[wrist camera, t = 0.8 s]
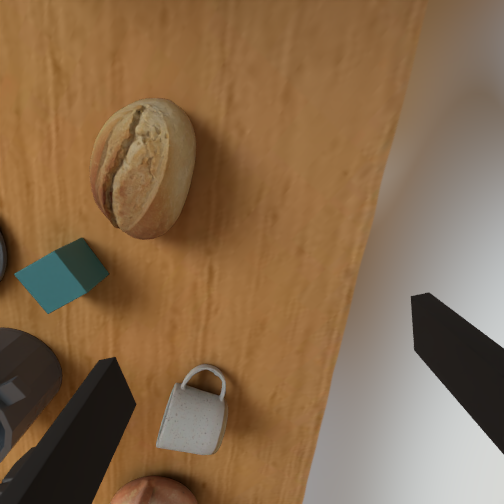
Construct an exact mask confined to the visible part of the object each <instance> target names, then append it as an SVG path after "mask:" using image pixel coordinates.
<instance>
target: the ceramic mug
mask: <svg viewBox="0 0 504 504" xmlns="http://www.w3.org/2000/svg"><path fill="white" fill-rule="evenodd" d="M205 369H206V370H209V371H212V372H213V373H214V374H215V376H218V377H219V378H220V379H221V380H222V391H221V394H220V395H219V396H218V395H216V394H213V393H209V392H206V391H202V390H199V389H196V388H194V387H190V386H187V385H186V383H187V382H188V381H189V379H190V378H191V377H192V376H193V375H194V374H196V373H198V372H200V371H202V370H205ZM225 390H226V382H225V378H224V375H223V374H222V372H221V371H220V370H219V369H218V368H217V367H215V366H212V365H208V364H202V365H199V366H197V367H195V368H193V369H192V370H191V371H190V372H189V373H188V375H187V376H186V377H185V379H184V381H183V383H182V384H181V383H175V385H174V387H173V390H172V392H171V395H170V397H169V401H168V404H167V407H166V410H165V413H164V416H163V420H162V423H161V427H160V430H159V434H158V438H157V442H156V447H157V448H163V449H170V450H175V451H182V452H188V453H194V454H200V455H211V454H214V453H216V452H217V451H218V449H219V448H220V446H221V443H222V440H223V437H224V434H225V429H226V425H227V419H228V404H227V402H226V400H225V399H224V395H225Z"/></svg>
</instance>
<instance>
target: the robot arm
mask: <svg viewBox="0 0 504 504" xmlns="http://www.w3.org/2000/svg"><path fill="white" fill-rule="evenodd" d="M411 306H412V322H413V337H414V350H415V351H416V353H417V354H418V355H419V356H420V358H421V359H422V360H423V361H424V362H425V363H426V364H427V366H428V367H429V368H430V369H431V370H432V371H433V373H434V374H435V375H436V376H437V377H438V378H439V380H440V381H441V382H442V383H443V384H444V385H445V386H446V388H447V389H448V390H449V391H450V392H451V394H452V395H453V396H454V397H455V398H456V399H457V401H458V402H459V403H460V404H461V405H462V406H463V407H464V409H465V410H466V411H467V412H468V413H469V414H470V416H471V417H472V418H473V419H474V420H475V422H476V423H477V424H478V425H479V426H480V427H481V428H482V430H483V431H484V432H485V433H486V434H487V436H488V437H489V438H490V439H491V440H492V441H493V443H494V444H495V445H496V446H497V447H498V448H499V450H500V451H501V452H502V453H503V454H504V348H502V347H501V346H500V345H498V344H497V343H496V342H494V341H493V340H492V339H490V338H489V337H488V336H486V335H485V334H484V333H482V332H481V331H480V330H478V329H477V328H476V327H474V326H473V325H472V324H470V323H469V322H468V321H466V320H465V319H464V318H462V317H461V316H459V315H458V314H457V313H456V312H454V311H453V310H452V309H450V308H449V307H448V306H446V305H445V304H444V303H442V302H441V301H440V300H438V299H437V298H436V297H434V296H433V295H432V294H430V293H425V294H420V295H415V296H411ZM135 406H136V402H135V400H134V398H133V396H132V393H131V391H130V389H129V387H128V384H127V382H126V380H125V378H124V375H123V373H122V371H121V369H120V366H119V364H118V362H117V360H116V357H113V358H108V359H103V360H99V361H98V362H97V364H96V365H95V367H94V368H93V369H92V371H91V372H90V373H89V375H88V376H87V378H86V379H85V380H84V382H83V383H82V384H81V386H80V387H79V388H78V390H77V391H76V393H75V394H74V395H73V397H72V398H71V399H70V401H69V402H68V403H67V405H66V406H65V408H64V409H63V410H62V412H61V413H60V414H59V416H58V417H57V419H56V420H55V421H54V423H53V424H52V425H51V427H50V428H49V429H48V431H47V432H46V434H45V435H44V436H43V438H42V439H41V440H40V442H39V443H38V444H37V446H36V447H32V448H31V449H30V450H29V451H28V452H27V453H26V454H25V455H23V456H22V457H21V458H20V459H19V460H18V461H17V462H16V463H15V464H14V466H13V467H12V468H11V469H10V471H9V472H8V473H7V475H6V476H5V477H4V479H3V480H2V484H0V504H92V502H93V500H94V497H95V495H96V493H97V491H98V488H99V486H100V484H101V482H102V480H103V477H104V475H105V473H106V471H107V469H108V466H109V464H110V462H111V460H112V457H113V455H114V453H115V451H116V449H117V446H118V444H119V442H120V440H121V437H122V435H123V433H124V431H125V429H126V426H127V424H128V422H129V420H130V417H131V415H132V413H133V411H134V409H135Z"/></svg>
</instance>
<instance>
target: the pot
mask: <svg viewBox="0 0 504 504" xmlns="http://www.w3.org/2000/svg"><path fill="white" fill-rule="evenodd" d="M61 382H62V370H61V366H60V364H59V361H58V359H57V358H56V356H55V354H54V353H53V352H52V351H51V349H50V348H49V347H48V346H47V345H45V344H44V343H43V342H42V341H40V340H39V339H37V338H36V337H34V336H32V335H30V334H28V333H25V332H23V331H20V330H16V329H11V328H0V462H2V461H3V459H4V458H5V457H6V456H7V454H8V453H9V452H10V451H11V449H12V448H13V447H14V446H15V445H16V443H17V442H18V441H19V440H20V438H21V437H22V436H23V435H24V433H25V432H26V431H27V430H28V429H29V427H30V426H31V425H32V424H33V422H34V421H35V420H36V419H37V417H38V416H39V415H40V414H41V412H42V411H43V410H44V409H45V408H46V406H47V405H48V404H49V403H50V401H51V400H52V399H53V397H54V396H55V395H56V394H57V392H58V391H59V389H60V386H61Z"/></svg>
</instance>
